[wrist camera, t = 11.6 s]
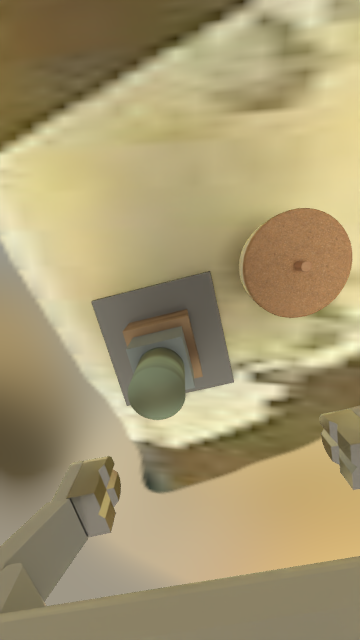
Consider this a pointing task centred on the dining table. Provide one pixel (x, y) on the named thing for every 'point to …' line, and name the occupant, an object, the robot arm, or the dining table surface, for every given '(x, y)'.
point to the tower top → (167, 340)
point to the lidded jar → (296, 262)
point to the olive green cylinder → (158, 384)
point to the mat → (159, 301)
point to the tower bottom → (163, 324)
